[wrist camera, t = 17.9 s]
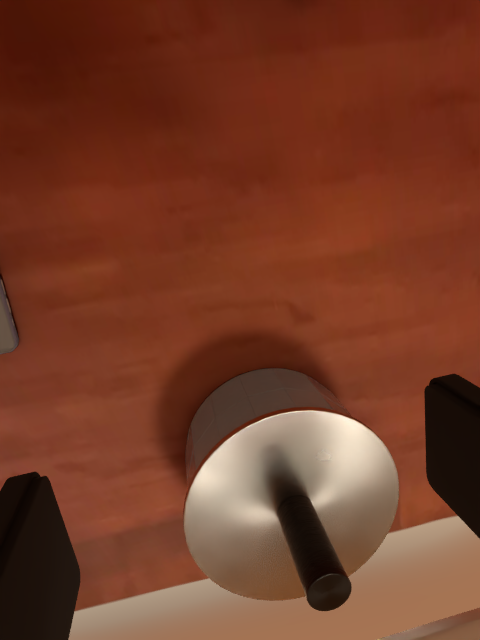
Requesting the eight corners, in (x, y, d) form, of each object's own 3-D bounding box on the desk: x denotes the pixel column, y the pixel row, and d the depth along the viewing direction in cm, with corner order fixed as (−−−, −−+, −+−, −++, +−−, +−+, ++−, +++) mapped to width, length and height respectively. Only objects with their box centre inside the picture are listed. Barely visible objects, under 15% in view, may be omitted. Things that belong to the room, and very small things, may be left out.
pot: (203, 528, 42) (212, 610, 34) (170, 389, 38) (171, 443, 29) (350, 489, 44) (394, 558, 35) (334, 351, 40) (380, 392, 31)
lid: (239, 620, 35) (259, 738, 27) (141, 469, 30) (132, 562, 22) (416, 527, 36) (486, 617, 28) (350, 364, 31) (413, 418, 23)
